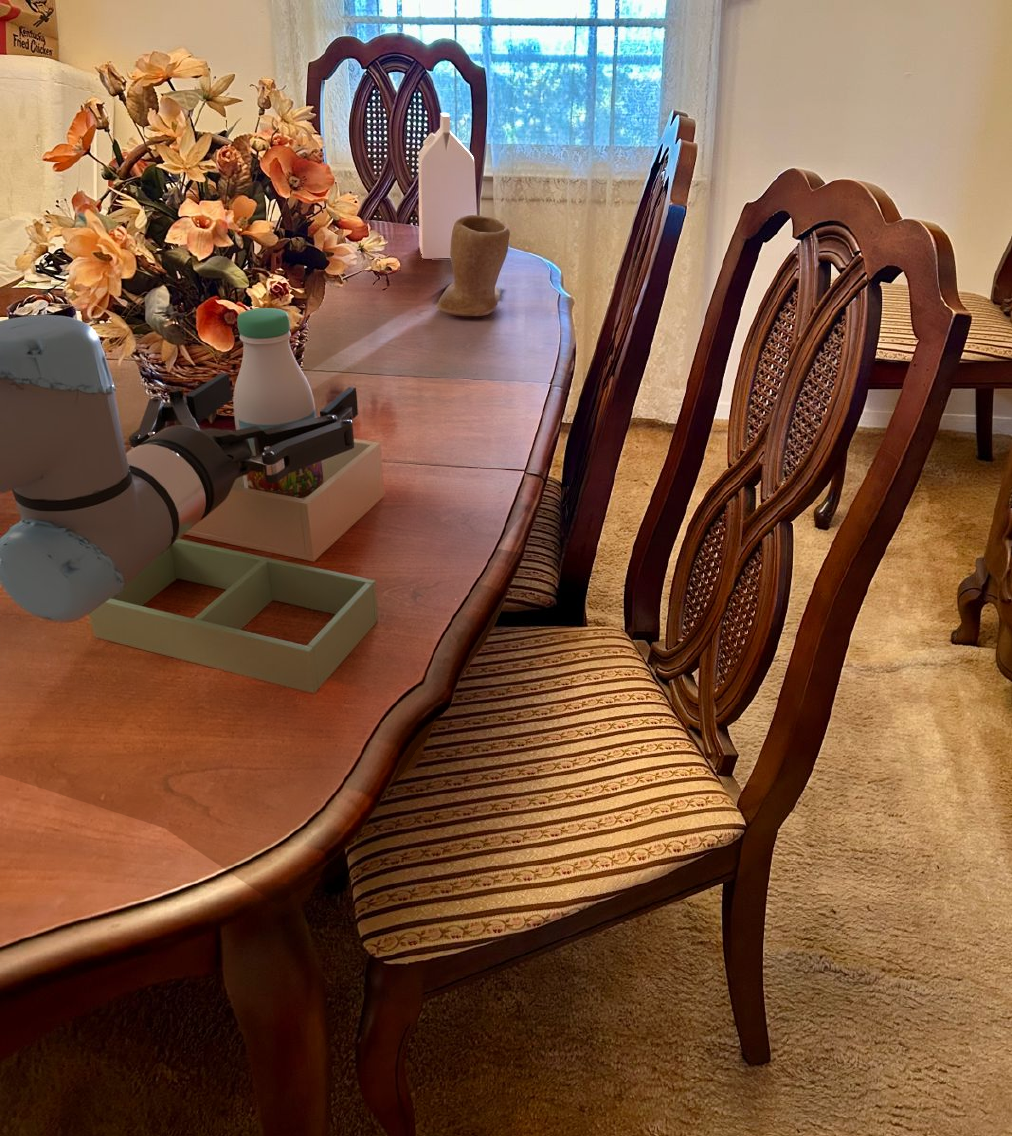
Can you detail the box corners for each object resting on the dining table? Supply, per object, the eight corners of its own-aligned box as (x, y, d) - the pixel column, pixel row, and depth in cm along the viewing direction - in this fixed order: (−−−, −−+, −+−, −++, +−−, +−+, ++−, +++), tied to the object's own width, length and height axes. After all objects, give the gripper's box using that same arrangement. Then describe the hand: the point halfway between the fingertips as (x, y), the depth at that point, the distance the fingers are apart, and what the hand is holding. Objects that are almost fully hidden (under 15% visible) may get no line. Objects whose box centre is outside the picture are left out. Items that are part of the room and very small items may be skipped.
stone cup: (502, 324, 152) (503, 227, 144) (431, 319, 153) (428, 224, 145) (516, 299, 165) (517, 209, 157) (450, 295, 166) (448, 206, 158)
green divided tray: (94, 637, 76) (83, 596, 74) (176, 574, 85) (168, 535, 83) (314, 694, 70) (309, 651, 68) (378, 620, 79) (375, 580, 77)
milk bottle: (232, 513, 94) (200, 316, 83) (288, 485, 99) (264, 297, 89) (286, 535, 90) (259, 331, 80) (342, 505, 95) (323, 310, 85)
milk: (479, 258, 190) (478, 117, 177) (422, 259, 189) (417, 118, 175) (472, 245, 200) (471, 111, 187) (419, 246, 199) (413, 111, 186)
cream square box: (183, 534, 91) (172, 478, 88) (265, 474, 103) (258, 422, 100) (313, 562, 87) (307, 504, 84) (384, 496, 99) (381, 442, 96)
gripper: (44, 507, 79) (183, 415, 96) (316, 548, 73) (410, 443, 91) (21, 424, 75) (170, 344, 92) (306, 461, 69) (406, 369, 87)
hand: (289, 393), depth 92 cm, fingers open, 13 cm apart
